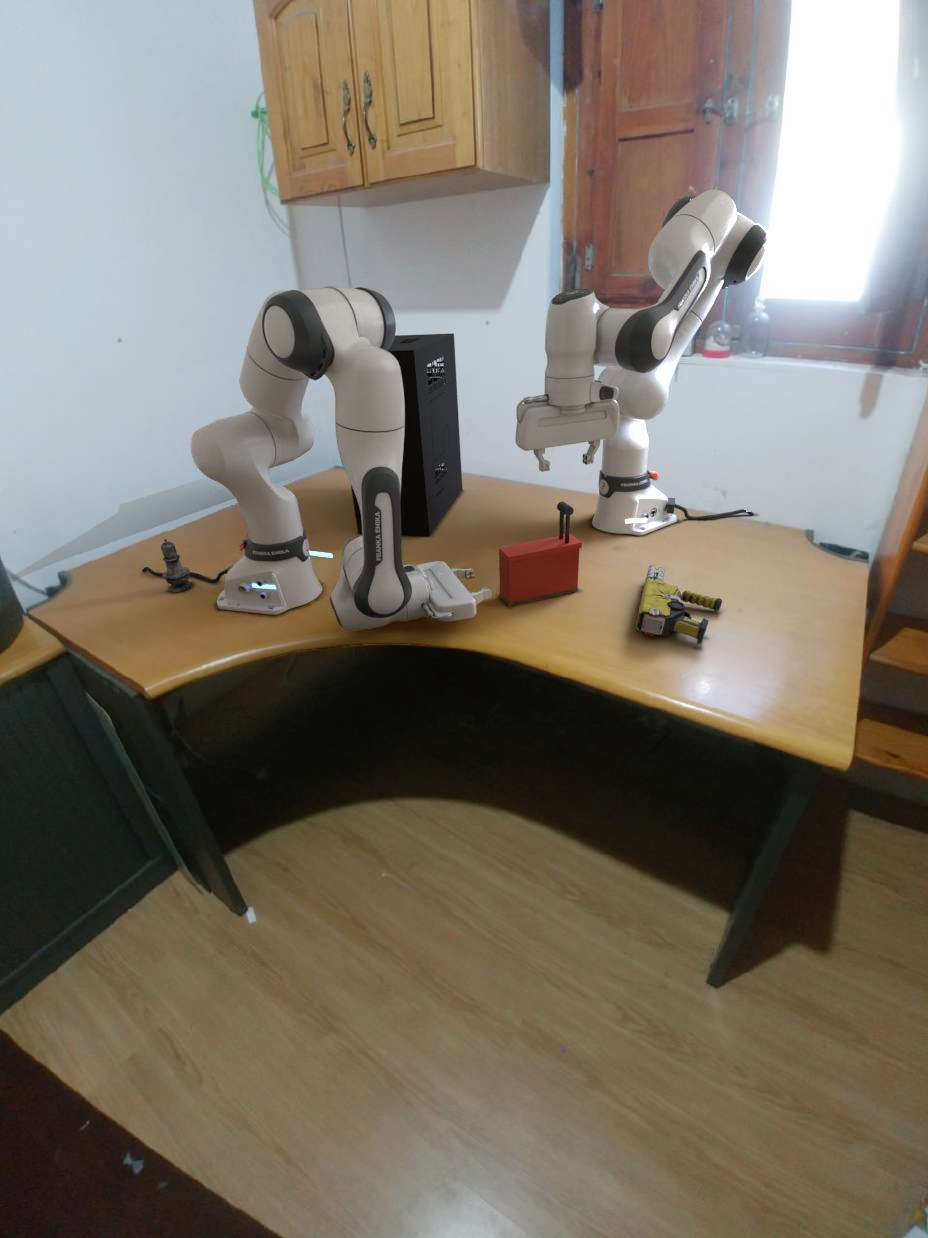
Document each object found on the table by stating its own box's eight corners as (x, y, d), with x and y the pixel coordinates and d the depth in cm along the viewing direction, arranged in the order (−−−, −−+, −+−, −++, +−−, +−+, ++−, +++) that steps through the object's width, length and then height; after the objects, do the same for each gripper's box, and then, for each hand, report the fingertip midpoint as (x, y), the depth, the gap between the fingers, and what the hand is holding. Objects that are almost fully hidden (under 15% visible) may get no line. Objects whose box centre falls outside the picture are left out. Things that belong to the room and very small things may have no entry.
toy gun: (723, 575, 124) (648, 562, 128) (727, 629, 104) (638, 612, 108) (717, 595, 126) (644, 582, 130) (720, 652, 106) (633, 634, 110)
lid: (569, 539, 127) (571, 498, 123) (581, 547, 123) (583, 505, 119) (498, 553, 123) (497, 511, 118) (508, 562, 119) (508, 519, 114)
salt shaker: (184, 593, 136) (168, 544, 130) (161, 592, 138) (145, 543, 132) (199, 581, 141) (184, 533, 135) (177, 580, 143) (161, 533, 137)
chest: (566, 581, 132) (567, 539, 127) (577, 591, 128) (579, 548, 123) (499, 596, 128) (498, 553, 123) (509, 606, 124) (508, 562, 119)
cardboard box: (429, 535, 159) (413, 350, 136) (357, 532, 163) (331, 352, 141) (462, 490, 190) (453, 333, 168) (401, 488, 195) (385, 335, 172)
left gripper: (429, 605, 108) (501, 589, 111) (401, 561, 125) (464, 549, 128) (432, 635, 111) (501, 619, 114) (404, 588, 128) (465, 576, 131)
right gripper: (524, 400, 104) (524, 479, 111) (626, 387, 110) (620, 463, 116) (509, 395, 109) (510, 470, 116) (607, 383, 115) (603, 455, 122)
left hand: (481, 582), depth 121 cm, fingers open, 8 cm apart
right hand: (566, 466), depth 116 cm, fingers open, 8 cm apart
